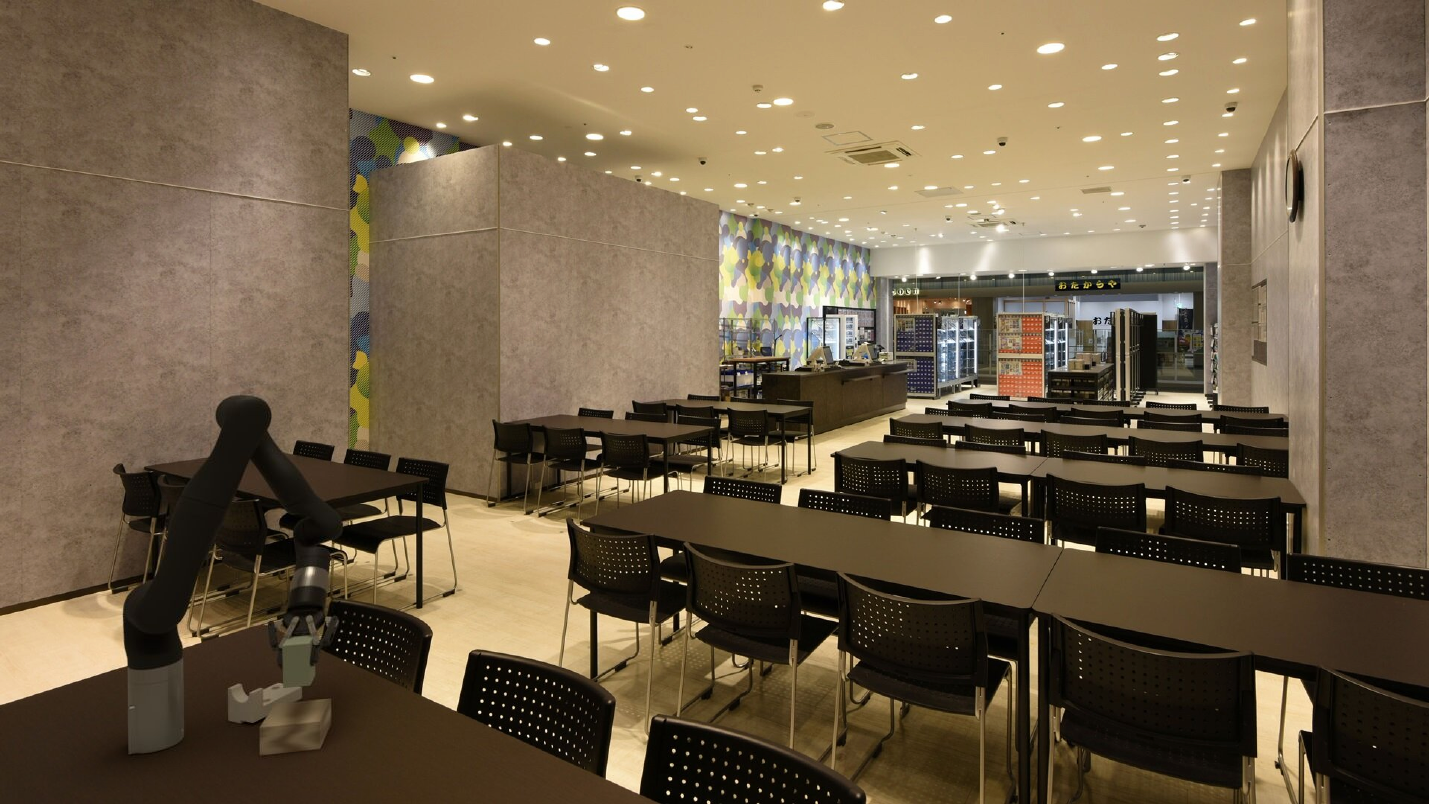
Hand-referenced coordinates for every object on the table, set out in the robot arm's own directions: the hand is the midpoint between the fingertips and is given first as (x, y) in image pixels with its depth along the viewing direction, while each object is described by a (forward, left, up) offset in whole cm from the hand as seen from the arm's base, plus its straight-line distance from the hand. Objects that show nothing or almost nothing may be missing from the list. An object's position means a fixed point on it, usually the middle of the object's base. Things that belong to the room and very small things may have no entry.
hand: (297, 666), depth 157 cm
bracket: (-3, +20, -17) cm, 26 cm away
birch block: (0, +1, -16) cm, 17 cm away
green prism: (+1, +2, -4) cm, 5 cm away
